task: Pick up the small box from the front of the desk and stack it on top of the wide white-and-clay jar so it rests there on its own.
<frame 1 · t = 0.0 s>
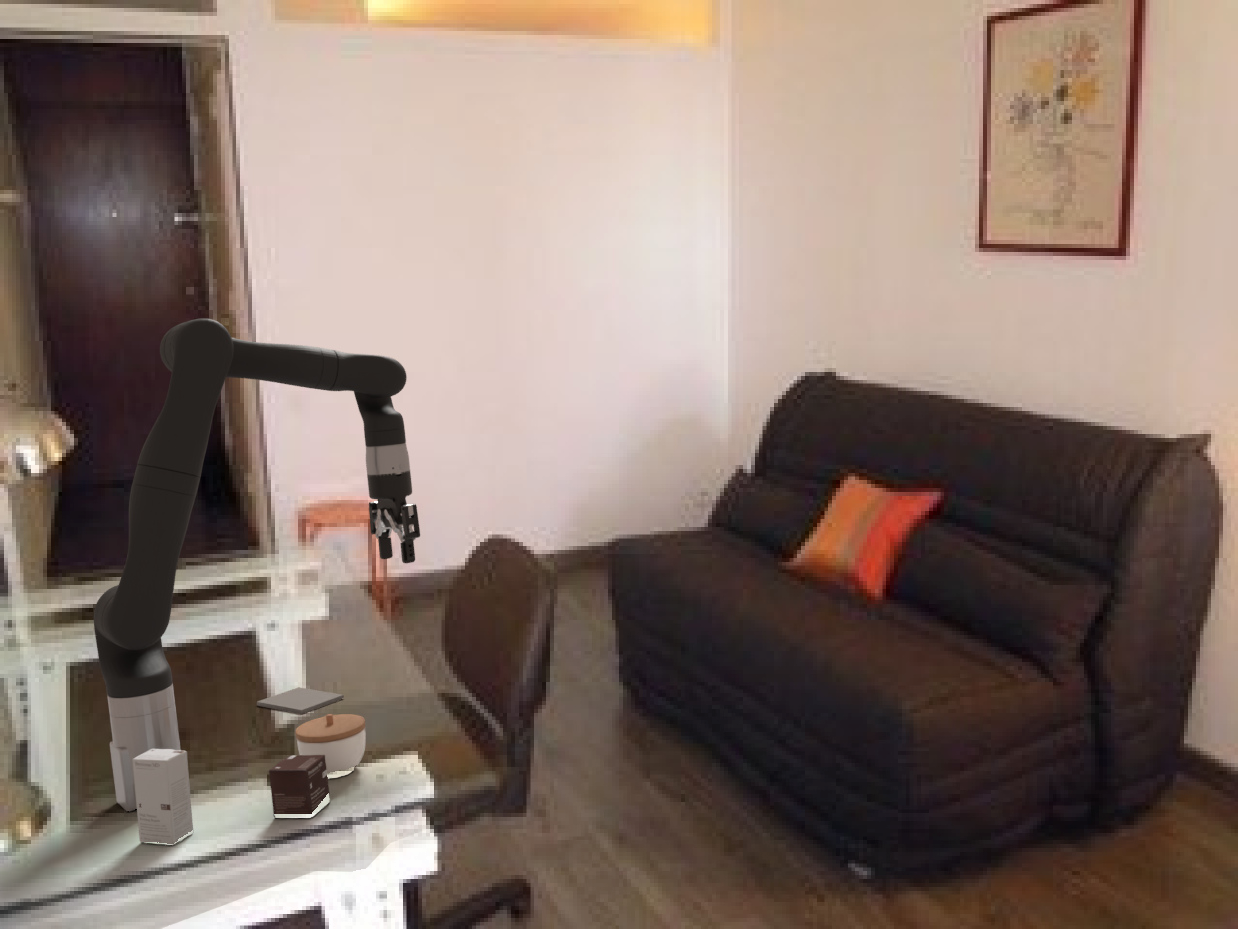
hand: (397, 560, 189), 29 cm above the table, fingers open, 8 cm apart
lidded jar: (335, 773, 169), on the table
skincare box: (168, 839, 148), on the table
box: (302, 812, 154), on the table
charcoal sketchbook: (300, 702, 209), on the table
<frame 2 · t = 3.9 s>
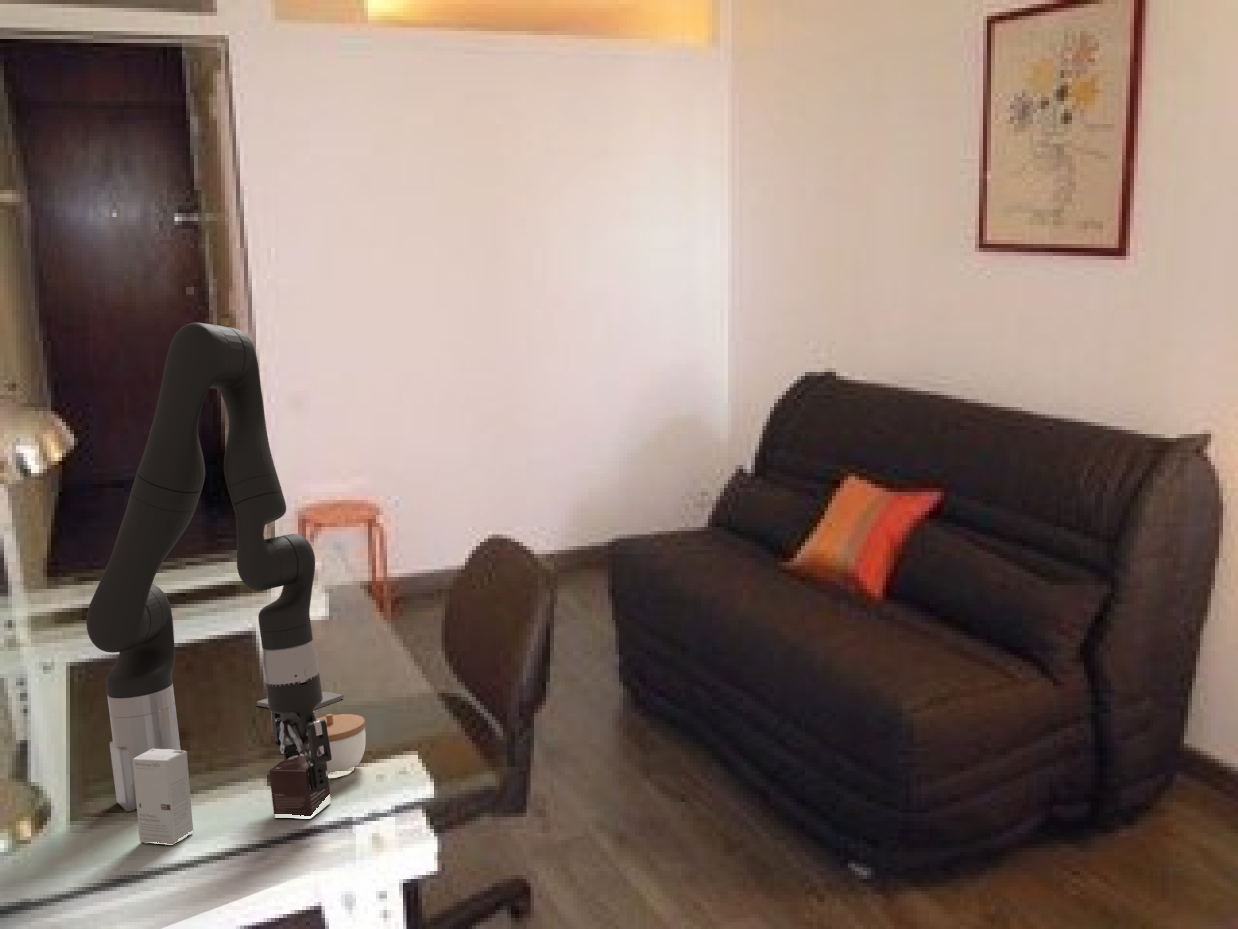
hand: (307, 783, 154), 4 cm above the table, fingers open, 8 cm apart
box: (303, 813, 154), on the table, touching gripper
everything else where it was.
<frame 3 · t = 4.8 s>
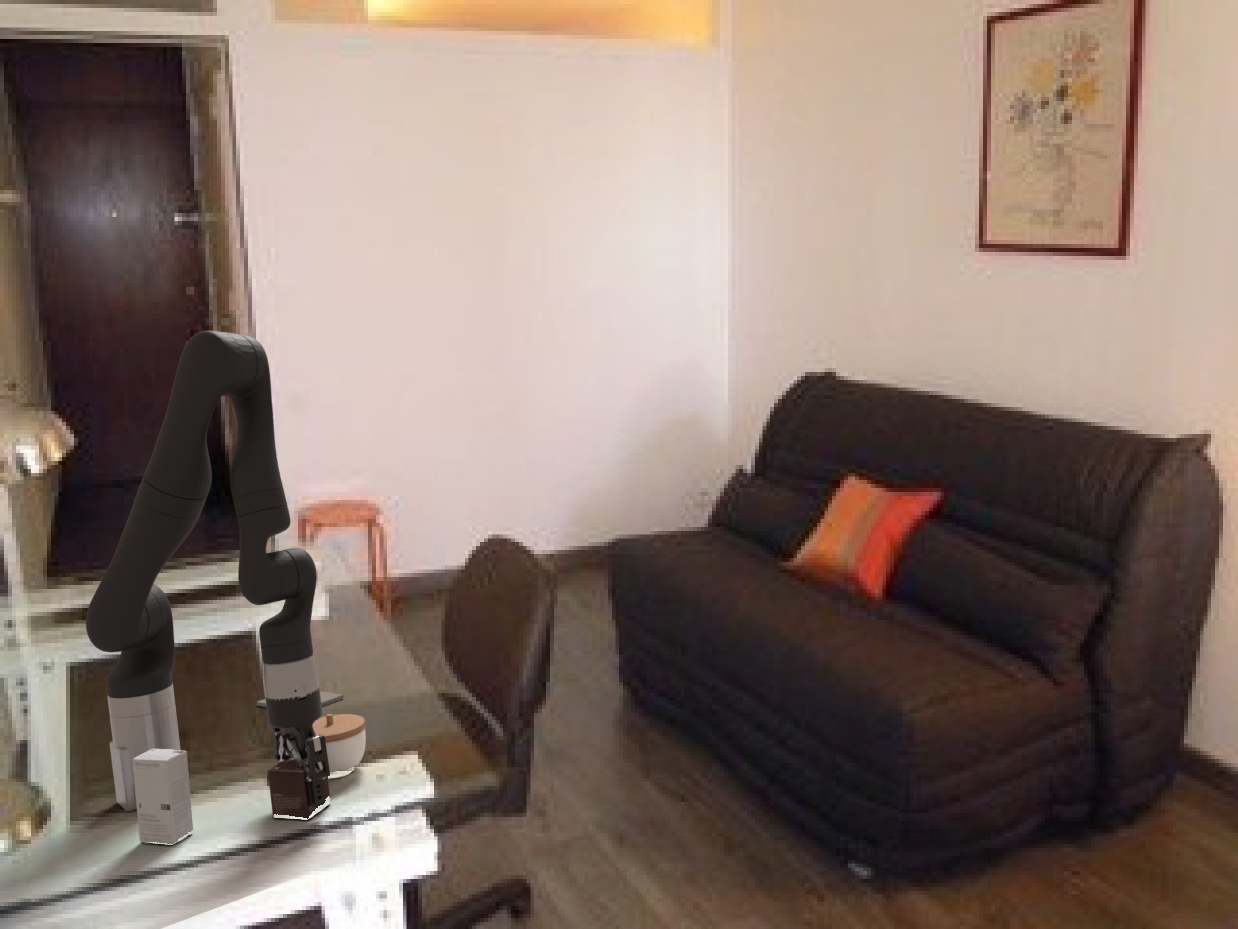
hand: (305, 798, 154), 2 cm above the table, fingers closed on box, 8 cm apart
box: (302, 813, 153), on the table, touching gripper
everything else where it was.
when the fingers open (12 cm above the table, at t = 10.6 s): box stays where it is, resting on lidded jar.
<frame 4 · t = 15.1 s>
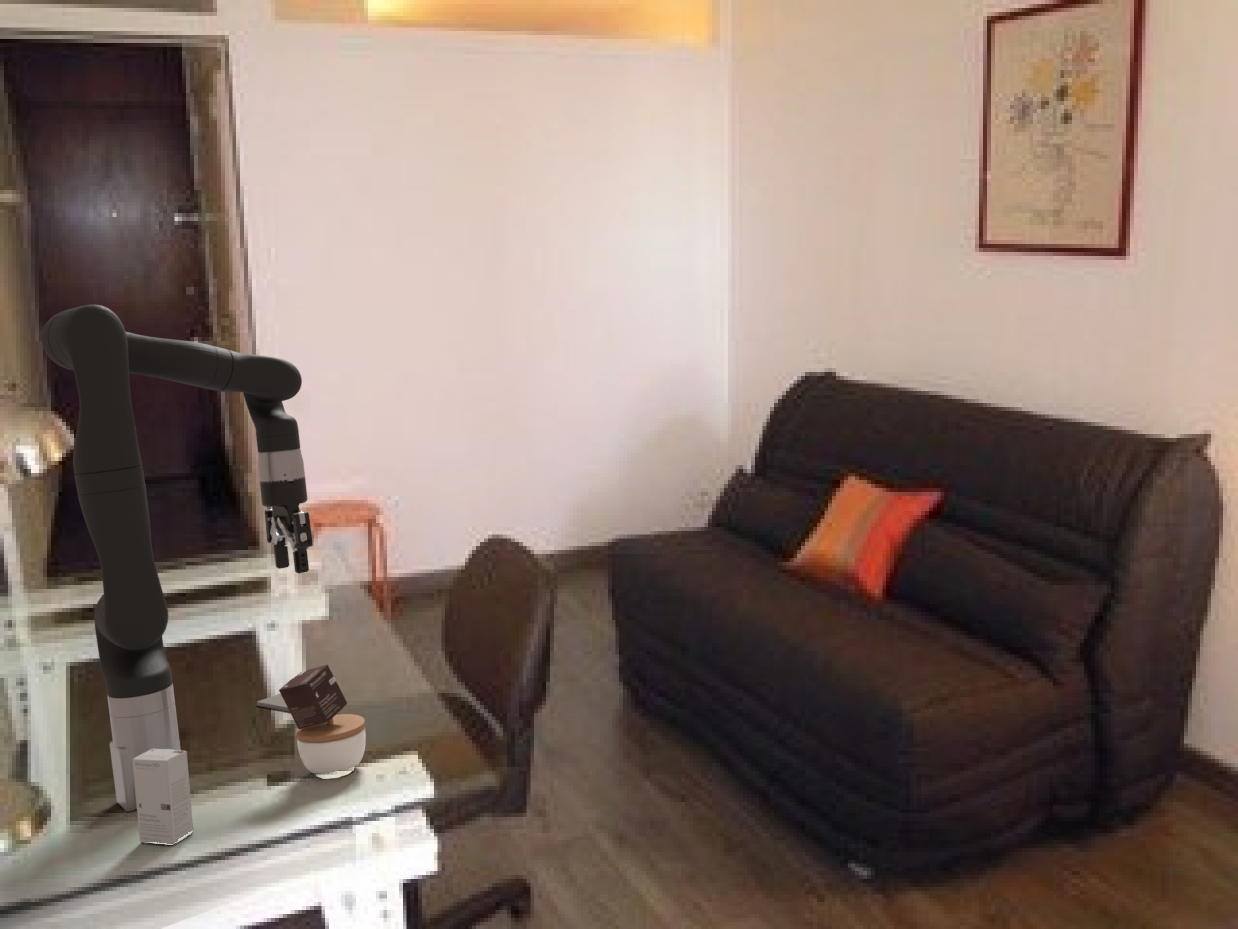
hand: (292, 570, 183), 30 cm above the table, fingers open, 8 cm apart
lidded jar: (335, 773, 169), on the table, touching box
box: (324, 718, 167), point 9 cm above the table, touching lidded jar
everything else where it was.
at the end: box 0.9 cm from the lidded jar (horizontally); box point 9.0 cm above the table; the gripper is holding nothing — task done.
